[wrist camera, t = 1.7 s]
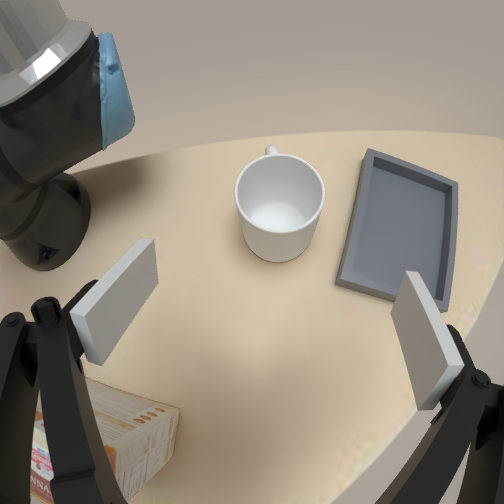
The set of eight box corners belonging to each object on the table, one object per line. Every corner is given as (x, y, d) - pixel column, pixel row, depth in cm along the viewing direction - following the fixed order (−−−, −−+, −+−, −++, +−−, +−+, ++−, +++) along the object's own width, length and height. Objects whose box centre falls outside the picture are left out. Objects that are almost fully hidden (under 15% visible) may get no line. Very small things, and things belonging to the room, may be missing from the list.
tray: (334, 284, 35) (340, 278, 32) (362, 160, 40) (367, 148, 37) (435, 314, 33) (447, 311, 30) (448, 192, 38) (458, 182, 35)
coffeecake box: (72, 420, 31) (-37, 443, 13) (77, 372, 33) (-39, 372, 15) (173, 459, 30) (95, 536, 11) (182, 407, 32) (96, 459, 13)
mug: (239, 177, 40) (231, 128, 30) (302, 172, 40) (310, 122, 30) (245, 266, 36) (236, 236, 27) (316, 261, 36) (332, 229, 26)
